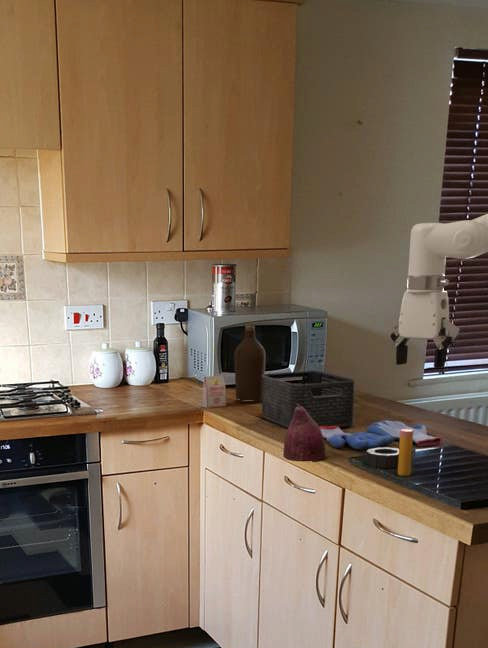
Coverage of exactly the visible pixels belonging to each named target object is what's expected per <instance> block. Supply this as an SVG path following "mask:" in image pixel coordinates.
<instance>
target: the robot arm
mask: <svg viewBox="0 0 488 648" xmlns="http://www.w3.org/2000/svg"><path fill="white" fill-rule="evenodd" d="M409 238H410V241H409V256H408V271H407V284H406V285H407V288H406V291H404V293H403V297H402V301H401V305H400V306H401V307H400V311H399V319H397V320H395V321H393V322H392V323H389V324H388V325H387V329H388V333H389V335H390V339H391V340H392V341H393V345H394V346H395V348H396V351H395V364H396V366H397V365H398V366H400V365H406V364H407V363H408V349H409V347H408V345H407V343H408V342H409V341H410V339H411V340H412V339H413V340H428V341H429V340H432V341H433V343H435V346H436V347H437V348H435V350H434V358H433V360H434V361H433V368H434V369H442V368H445V365H446V362H447V351H448V349H449V348H450V347H451V345H452V344H453V343H454V342H455V341H456V338H457V336H458V334H459V333H460V328H459V327H458V326H457V325H455V324H454V323H453V322H451V321H450V303H449V295H448V291H447V290H444V289H445V286H448V285H449V283H450V280H449V279H448V278H446V275H445V274H446V264H447V263H446V262H447V258H450V259H456V260H457V259H458V260H468V259H473V258H476V257H479V256H481V255H484V254H486V253H488V213H486V214H484V215H483V214H482V215H481V216H479V217H476V218H473V219H464V220H459V221H453V222H447V223H443V222H423V223H422V222H421V223H416V224H414V225H412V228H411V231H410V237H409Z"/></svg>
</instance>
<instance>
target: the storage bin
mask: <svg viewBox="0 0 488 648" xmlns="http://www.w3.org/2000/svg"><path fill="white" fill-rule="evenodd" d="M288 378H301V381H300V382H299V383H290V382H287V381H284V380H281V379H288ZM354 397H355V379H354V378H350V377H347V376H342V375H338V374H335V373H331V372H325V371H321V370H304V371H303V370H302V371H289V372H274V373H265V374H264V375H262V402H261V404H262V405H261V406H262V407H261V412H262V413H261V418H263V419H264V420H267V421H269V422H271V423H275V424H277V425H279V426H282V427H284V428H286V429H288V428H289V426H290V423H291V421H292V418H293V416H294V411H295V408H296V407H297V404H298V405H300V406H302V407H303V408H304V409H305V410H306V411H307V413H308V414H309V415H310V417H311V418H312V419H313V420H314V421H315V422H316V423H317V425H318V426H319V427H321V426H322V427H332V426H337V427H339V428H347V427H351V426H353V425H354V408H355V407H354V406H355V405H354V403H355V402H354V400H355V398H354Z"/></svg>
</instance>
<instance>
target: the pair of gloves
mask: <svg viewBox="0 0 488 648" xmlns="http://www.w3.org/2000/svg"><path fill="white" fill-rule="evenodd" d="M319 428H320V430H321V432H322V435H323V438H325V439H326V441H327V442H328V443H329V444H330V445H331V446H332V447H334V448H335V449H341V448H343V447H344V446H345V445H346V443H347V444H348V446H350V448H351V449H354V450H358V451H363V450H368V449H372V448H382V447H388V446H389V445H391V444H392V443H394V442H395V441H400V430H402V429H411V430H413V443H415V444H416V445H417V446H418V447H428V446H436V445H440V444H441V442H442V438H441V437H440V436H436V437H434V436H432V435H428V434H427V433H428V432H427V426H425V424H423V423H417V424H415V425H414V426H413V427H410V426H408V425H406V424H405V423H404V422H402V421H391V420H388V419H384V420H380V421H377V422H373V423H372V424H370V426H367V428H366V429H365V431H366V432H363V431H361V432H355V433H349V432H344V431H343V430H342V429H341V427H337V426H332V427H322V426H321V427H319Z"/></svg>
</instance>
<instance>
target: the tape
mask: <svg viewBox="0 0 488 648" xmlns="http://www.w3.org/2000/svg"><path fill="white" fill-rule="evenodd" d="M365 452H366V453H365V454H366V455H365V464H366V466H369V467H373V468H378V469H398V459H399V448H397V447H388V446H386V447H378V448H372V449H366V451H365Z"/></svg>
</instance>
